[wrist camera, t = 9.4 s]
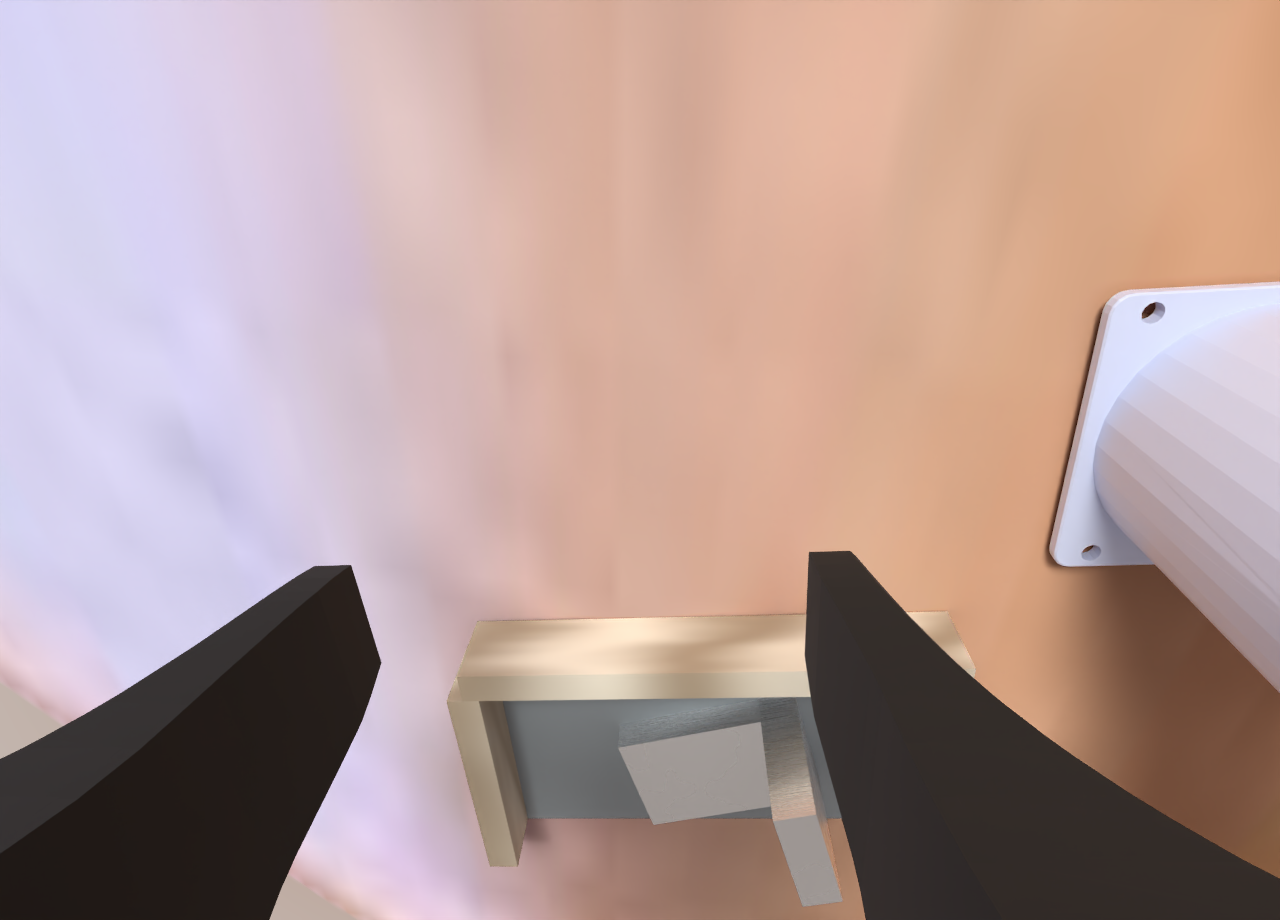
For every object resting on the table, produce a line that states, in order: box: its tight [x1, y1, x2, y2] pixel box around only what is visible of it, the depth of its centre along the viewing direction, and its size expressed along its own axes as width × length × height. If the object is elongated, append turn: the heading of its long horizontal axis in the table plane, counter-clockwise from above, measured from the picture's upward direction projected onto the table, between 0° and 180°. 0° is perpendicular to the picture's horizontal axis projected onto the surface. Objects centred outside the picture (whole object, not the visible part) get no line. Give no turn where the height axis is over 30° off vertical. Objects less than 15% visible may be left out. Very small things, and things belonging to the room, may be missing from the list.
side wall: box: [447, 647, 528, 867], centre depth 25 cm, size 1×8×2 cm, turn 4°
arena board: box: [503, 697, 842, 818], centre depth 25 cm, size 14×8×1 cm, turn 94°
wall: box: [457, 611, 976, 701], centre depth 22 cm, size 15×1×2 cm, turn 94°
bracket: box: [618, 697, 843, 907], centre depth 23 cm, size 6×4×4 cm, turn 107°
